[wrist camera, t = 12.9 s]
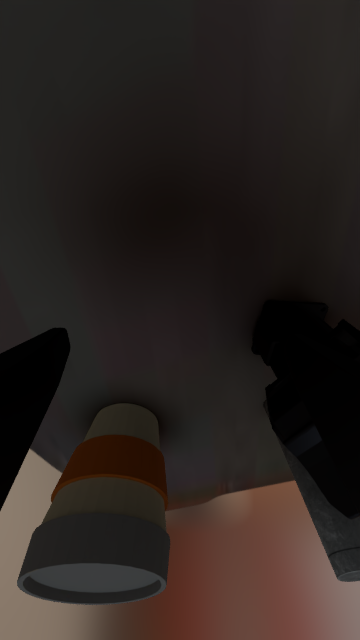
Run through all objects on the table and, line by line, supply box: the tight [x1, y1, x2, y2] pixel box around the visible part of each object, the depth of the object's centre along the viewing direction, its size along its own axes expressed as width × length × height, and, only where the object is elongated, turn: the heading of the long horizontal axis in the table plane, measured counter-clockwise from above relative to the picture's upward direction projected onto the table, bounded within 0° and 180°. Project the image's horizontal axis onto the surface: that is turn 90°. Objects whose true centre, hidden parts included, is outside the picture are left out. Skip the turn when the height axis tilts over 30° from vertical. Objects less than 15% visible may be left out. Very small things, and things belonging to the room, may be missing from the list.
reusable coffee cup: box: [17, 403, 170, 605], centre depth 25 cm, size 13×13×15 cm
